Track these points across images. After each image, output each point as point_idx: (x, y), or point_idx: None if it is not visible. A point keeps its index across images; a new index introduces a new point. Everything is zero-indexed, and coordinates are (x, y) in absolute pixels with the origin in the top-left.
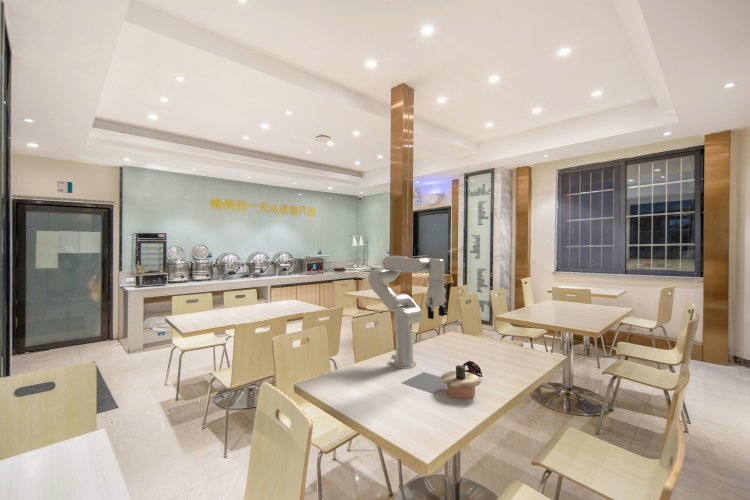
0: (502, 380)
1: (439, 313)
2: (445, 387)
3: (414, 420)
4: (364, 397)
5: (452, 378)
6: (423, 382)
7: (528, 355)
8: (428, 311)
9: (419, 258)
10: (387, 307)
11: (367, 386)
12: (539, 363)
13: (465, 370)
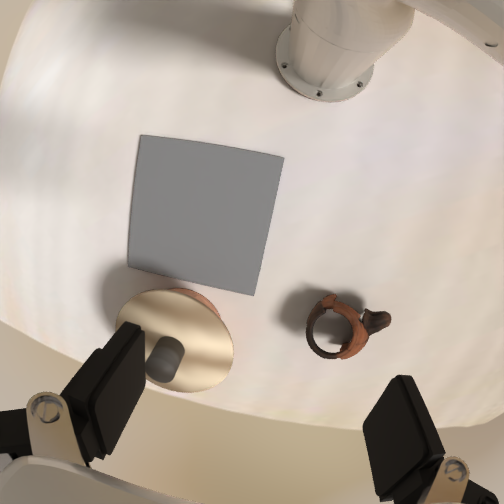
0: (334, 388)
1: (394, 403)
2: (187, 279)
3: (27, 267)
4: (37, 114)
5: (152, 328)
6: (185, 200)
7: None
8: (61, 396)
9: None
10: None
11: (85, 69)
12: (466, 409)
13: (310, 322)
